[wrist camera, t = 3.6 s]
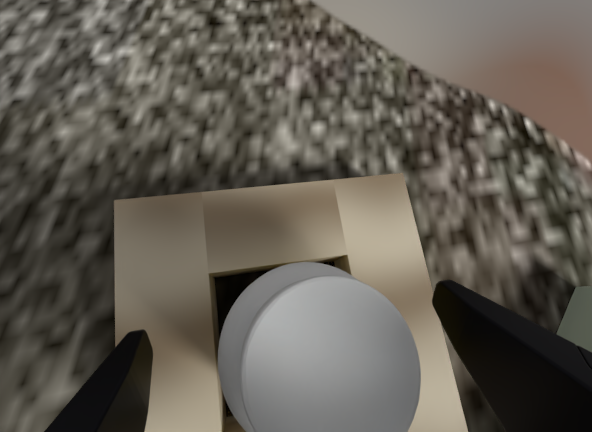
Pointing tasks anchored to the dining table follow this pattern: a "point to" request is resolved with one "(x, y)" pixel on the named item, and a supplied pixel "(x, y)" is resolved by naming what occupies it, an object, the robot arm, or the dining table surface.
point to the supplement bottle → (317, 355)
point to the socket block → (262, 257)
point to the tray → (578, 319)
